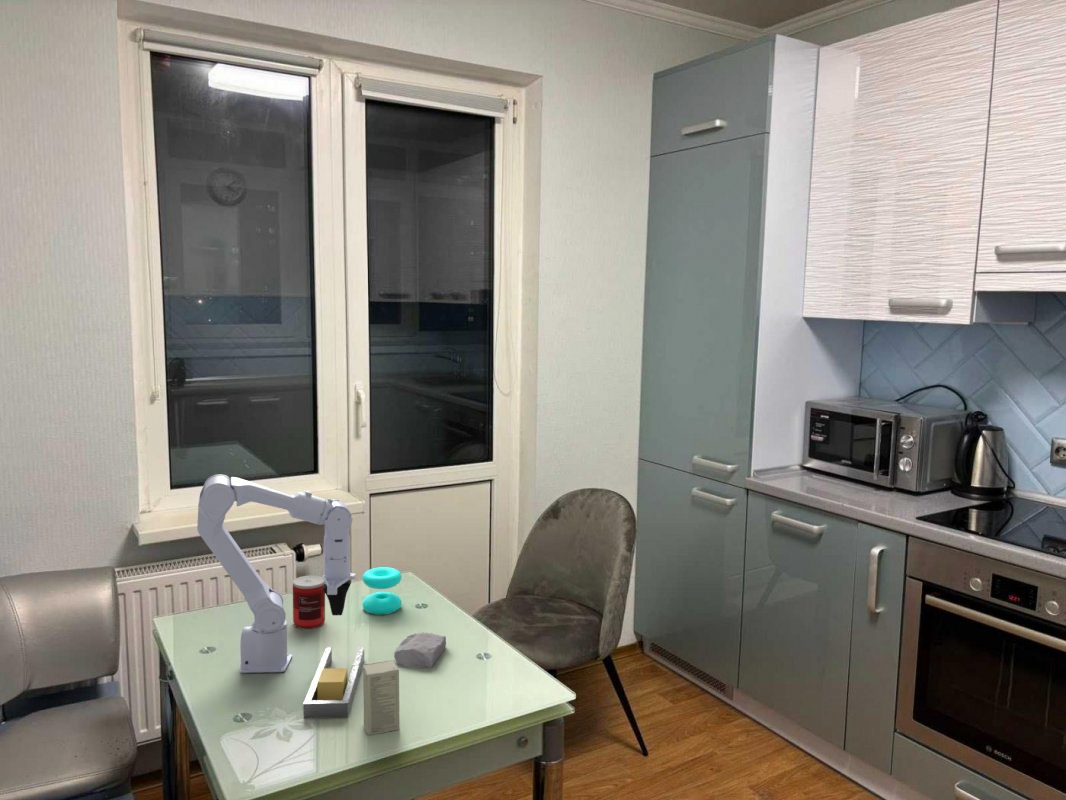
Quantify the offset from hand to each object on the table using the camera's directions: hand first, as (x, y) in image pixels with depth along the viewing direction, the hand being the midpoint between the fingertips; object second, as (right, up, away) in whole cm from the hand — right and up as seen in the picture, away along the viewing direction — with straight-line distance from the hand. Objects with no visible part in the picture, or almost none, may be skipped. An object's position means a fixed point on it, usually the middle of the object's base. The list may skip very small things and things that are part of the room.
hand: (337, 614), depth 180 cm
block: (+3, -12, -17) cm, 21 cm away
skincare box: (+15, -14, -28) cm, 35 cm away
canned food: (-12, -8, +19) cm, 24 cm away
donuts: (+4, -7, +30) cm, 31 cm away
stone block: (+18, -11, +3) cm, 21 cm away
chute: (+3, -12, -12) cm, 17 cm away
